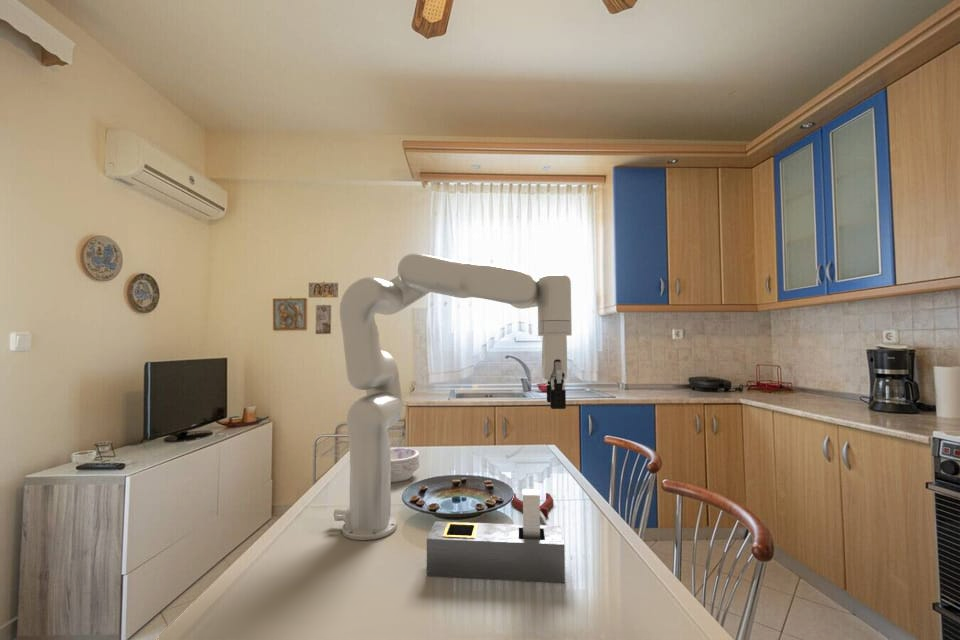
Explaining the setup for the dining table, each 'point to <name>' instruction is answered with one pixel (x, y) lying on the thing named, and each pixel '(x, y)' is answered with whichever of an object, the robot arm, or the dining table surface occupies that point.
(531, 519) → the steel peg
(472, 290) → the robot arm
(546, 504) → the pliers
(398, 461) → the white textured bowl
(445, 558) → the grey peg board
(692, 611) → the dining table surface
